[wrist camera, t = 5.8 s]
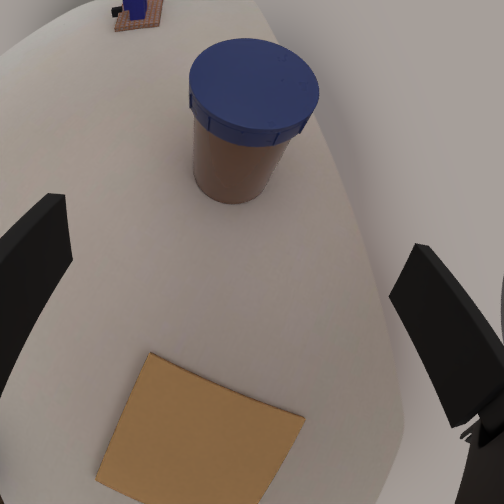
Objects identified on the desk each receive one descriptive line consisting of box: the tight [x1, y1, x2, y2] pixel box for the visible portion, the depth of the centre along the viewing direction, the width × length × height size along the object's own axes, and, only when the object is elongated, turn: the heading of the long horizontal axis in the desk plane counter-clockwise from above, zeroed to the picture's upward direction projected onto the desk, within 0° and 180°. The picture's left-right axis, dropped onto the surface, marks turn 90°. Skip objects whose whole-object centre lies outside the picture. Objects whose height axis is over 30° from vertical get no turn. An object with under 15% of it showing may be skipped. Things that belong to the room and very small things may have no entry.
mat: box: [95, 352, 306, 504], centre depth 21 cm, size 14×14×1 cm
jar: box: [193, 116, 292, 204], centre depth 22 cm, size 7×7×12 cm
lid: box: [189, 38, 319, 147], centre depth 16 cm, size 8×8×2 cm
